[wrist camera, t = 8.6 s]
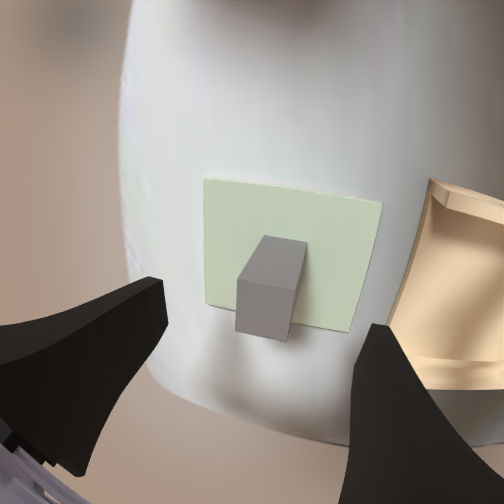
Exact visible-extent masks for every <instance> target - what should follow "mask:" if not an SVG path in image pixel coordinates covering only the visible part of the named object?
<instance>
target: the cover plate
mask: <svg viewBox="0 0 504 504" xmlns="http://www.w3.org/2000/svg"><path fill="white" fill-rule="evenodd" d="M381 210H382V203H380V202H375V201H370V200H365V199H359V198H354V197H348V196H343V195H337V194H331V193H325V192H319V191H313V190H306V189H299V188H293V187H285V186H278V185H271V184H263V183H254V182H246V181H237V180H227V179H217V178H205V179H204V272H205V303H206V304H210V305H214V306H218V307H222V308H227V309H231V310H235V311H236V323H235V331H238V332H242V333H246V334H251V335H255V336H259V337H264V338H269V339H273V340H278V341H283V342H286V341H287V337H288V333H289V329H290V325H291V322H293V323H298V324H303V325H309V326H314V327H320V328H325V329H331V330H337V331H343V332H348V331H349V328H350V325H351V322H352V319H353V316H354V313H355V310H356V307H357V303H358V300H359V297H360V293H361V290H362V287H363V283H364V280H365V276H366V273H367V269H368V265H369V261H370V258H371V254H372V250H373V246H374V241H375V237H376V233H377V229H378V224H379V220H380V215H381Z"/></svg>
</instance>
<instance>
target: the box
mask: <svg viewBox="0 0 504 504" xmlns="http://www.w3.org/2000/svg"><path fill="white" fill-rule="evenodd" d="M385 326H389V327H390V328H391V330H392V332H393V333H394V335H395V337H396V339H397V340H398V342H399V344H400V346H401V348H402V349H403V351H404V353H405V355H406V356H407V358H408V360H409V362H410V363H411V365H412V367H413V369H414V370H415V372H416V374H417V375H418V377H419V379H420V380H421V382H422V384H423V385H424V387H425V388H426V389H443V390H490V389H504V201H501V200H499V199H496V198H493V197H490V196H487V195H484V194H481V193H478V192H475V191H472V190H469V189H465V188H462V187H459V186H455V185H452V184H449V183H445V182H442V181H438V180H434V179H429V184H428V189H427V194H426V198H425V203H424V207H423V211H422V215H421V219H420V223H419V227H418V231H417V235H416V238H415V242H414V245H413V249H412V252H411V255H410V259H409V262H408V265H407V268H406V271H405V274H404V277H403V280H402V283H401V286H400V289H399V292H398V294H397V297H396V300H395V303H394V305H393V308H392V310H391V313H390V316H389V318H388V321H387V323H386V325H385Z"/></svg>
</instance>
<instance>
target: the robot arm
mask: <svg viewBox="0 0 504 504" xmlns="http://www.w3.org/2000/svg"><path fill="white" fill-rule="evenodd" d="M168 324H169V323H168V316H167V309H166V302H165V295H164V287H163V280H161V279H157V278H153V277H146V278H143V279H140V280H138V281H135V282H133V283H130V284H128V285H126V286H124V287H122V288H119V289H117V290H115V291H112V292H110V293H108V294H106V295H103V296H101V297H99V298H97V299H94V300H92V301H89V302H87V303H84V304H82V305H79V306H77V307H74V308H72V309H69V310H66V311H64V312H60V313H57V314H54V315H51V316H48V317H44V318H40V319H36V320H31V321H27V322H22V323H17V324H10V325H2V326H0V504H58V503H57V502H55V501H54V500H52V499H51V498H49V497H47V496H46V495H45V494H44V490H45V491H46V492H48V493H49V494H50V495H51V496H52V497H54V498H55V499H56V500H57V501H58V502H60V503H61V504H92V503H90V502H89V501H88V500H86V499H85V498H83V497H82V496H80V495H79V494H77V493H76V492H74V491H73V490H72V489H70V488H69V487H68V486H66V485H65V484H64V483H62V482H61V481H60V480H59V479H57V478H56V477H55V476H53V475H52V474H51V473H50V472H49V471H48V470H46V469H45V468H44V467H43V466H42V464H43V463H44V462H45V461H46V462H48V463H49V464H50V465H51V466H52V467H54V466H55V465H56V464H57V463H58V464H59V465H60V466H62V467H63V468H64V469H66V470H67V471H69V472H70V473H71V474H72V475H74V476H75V477H82V476H84V475H85V473H86V469H87V466H88V463H89V461H90V458H91V455H92V452H93V449H94V447H95V445H96V442H97V440H98V437H99V435H100V433H101V431H102V429H103V427H104V425H105V423H106V421H107V419H108V417H109V415H110V413H111V410H112V409H113V407H114V406H115V404H116V402H117V400H118V398H119V396H120V395H121V393H122V392H123V390H124V389H125V387H126V386H127V385H128V383H129V382H130V381H131V379H132V378H133V377H134V375H135V374H136V373H137V371H138V370H139V369H140V367H141V366H142V365H143V363H144V362H145V361H146V359H147V358H148V357H149V355H150V354H151V353H152V351H153V350H154V349H155V347H156V346H157V344H158V342H159V341H160V339H161V337H162V335H163V333H164V332H165V330H166V328H167V326H168ZM338 504H504V478H502V477H501V476H500V475H499V474H497V473H496V472H495V471H494V470H493V469H492V468H490V467H489V466H488V465H487V464H486V463H485V462H484V461H483V460H482V459H481V458H480V457H479V456H478V455H477V454H476V453H475V452H474V451H473V450H472V449H471V448H470V447H469V445H468V444H467V443H466V442H465V441H464V440H463V439H462V437H461V436H460V435H459V434H458V433H457V432H456V430H455V429H454V428H453V427H452V425H451V424H450V423H449V421H448V420H447V419H446V417H445V416H444V415H443V413H442V412H441V411H440V409H439V408H438V406H437V405H436V404H435V402H434V401H433V399H432V398H431V396H430V394H429V393H428V391H427V390H426V388H425V387H424V385H423V384H422V382H421V380H420V379H419V377H418V375H417V374H416V372H415V370H414V369H413V367H412V365H411V363H410V362H409V360H408V358H407V356H406V355H405V353H404V351H403V349H402V348H401V346H400V344H399V342H398V340H397V339H396V337H395V335H394V333H393V332H392V330H391V328H390V327H389V326H385V325H379V324H373V323H372V324H371V327H370V329H369V332H368V334H367V337H366V339H365V342H364V344H363V347H362V349H361V352H360V354H359V356H358V359H357V361H356V363H355V365H354V372H353V380H352V388H351V415H350V442H349V455H348V462H347V468H346V473H345V478H344V482H343V486H342V491H341V494H340V498H339V502H338Z"/></svg>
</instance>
